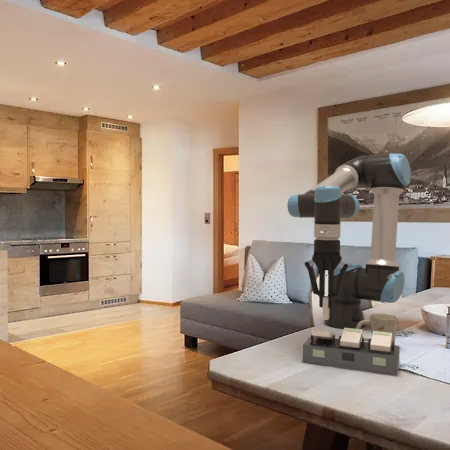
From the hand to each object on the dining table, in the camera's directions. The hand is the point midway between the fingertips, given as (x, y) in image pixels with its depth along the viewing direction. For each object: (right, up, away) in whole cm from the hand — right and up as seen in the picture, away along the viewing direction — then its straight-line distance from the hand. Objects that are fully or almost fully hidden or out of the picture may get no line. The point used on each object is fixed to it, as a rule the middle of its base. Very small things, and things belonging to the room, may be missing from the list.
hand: (326, 318), depth 136 cm
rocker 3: (+13, -4, -9) cm, 17 cm away
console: (+6, -11, -6) cm, 14 cm away
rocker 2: (+6, -4, -6) cm, 9 cm away
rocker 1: (-1, -4, -3) cm, 5 cm away
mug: (+18, -11, +10) cm, 24 cm away
